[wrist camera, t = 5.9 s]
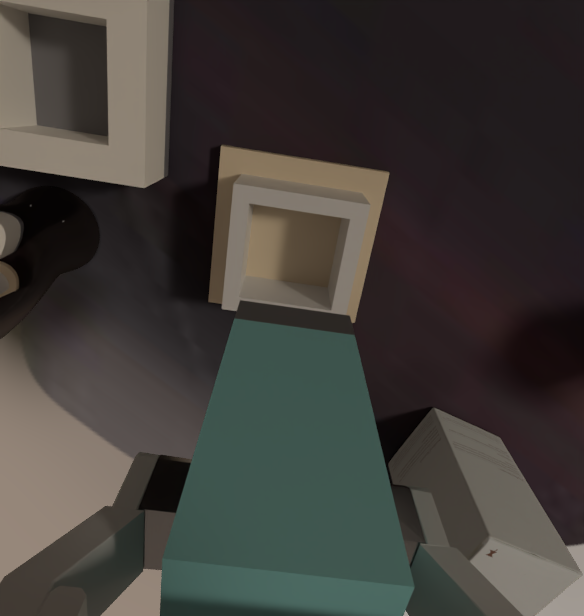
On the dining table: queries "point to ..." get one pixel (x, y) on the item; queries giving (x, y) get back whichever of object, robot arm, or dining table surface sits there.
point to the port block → (87, 88)
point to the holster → (293, 231)
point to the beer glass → (40, 247)
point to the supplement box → (487, 509)
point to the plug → (287, 482)
